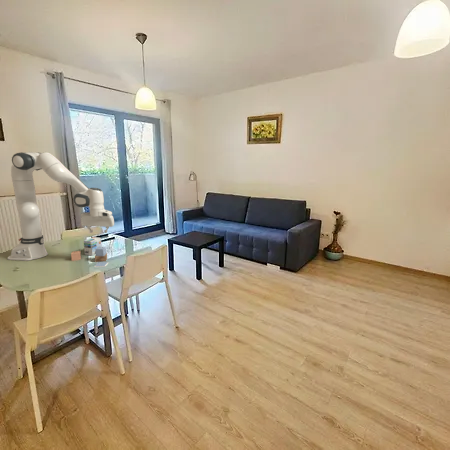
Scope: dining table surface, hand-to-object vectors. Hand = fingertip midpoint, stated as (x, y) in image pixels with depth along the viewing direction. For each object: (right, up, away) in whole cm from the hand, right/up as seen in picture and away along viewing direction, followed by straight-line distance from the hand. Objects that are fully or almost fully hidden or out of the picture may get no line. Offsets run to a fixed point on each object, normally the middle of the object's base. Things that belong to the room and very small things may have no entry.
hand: (98, 232), depth 171 cm
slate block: (0, -16, +4) cm, 16 cm away
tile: (+4, -21, -3) cm, 22 cm away
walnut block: (-1, -19, +5) cm, 20 cm away
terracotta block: (-18, -19, +5) cm, 26 cm away
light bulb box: (-12, -16, +17) cm, 26 cm away
